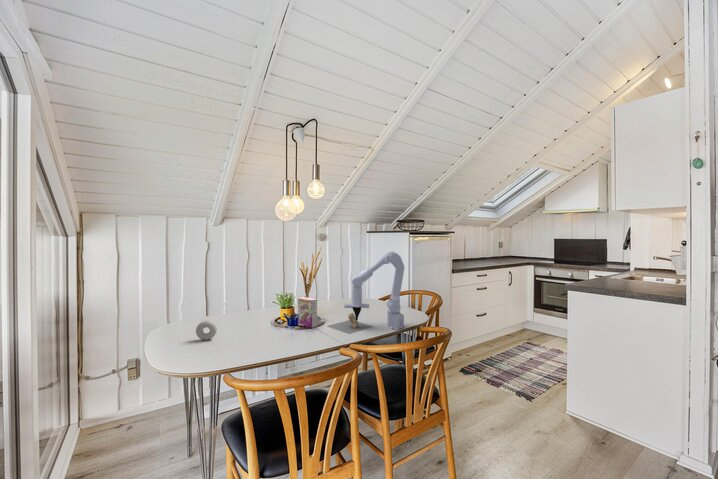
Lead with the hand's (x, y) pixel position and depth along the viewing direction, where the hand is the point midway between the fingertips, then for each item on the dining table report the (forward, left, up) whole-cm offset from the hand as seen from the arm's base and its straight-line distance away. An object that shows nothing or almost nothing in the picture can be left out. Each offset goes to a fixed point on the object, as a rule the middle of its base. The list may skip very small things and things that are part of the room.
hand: (356, 320), depth 195 cm
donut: (+38, +71, -5) cm, 81 cm away
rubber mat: (+3, +2, -4) cm, 6 cm away
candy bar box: (+22, +19, -5) cm, 30 cm away
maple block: (0, 0, -3) cm, 3 cm away
